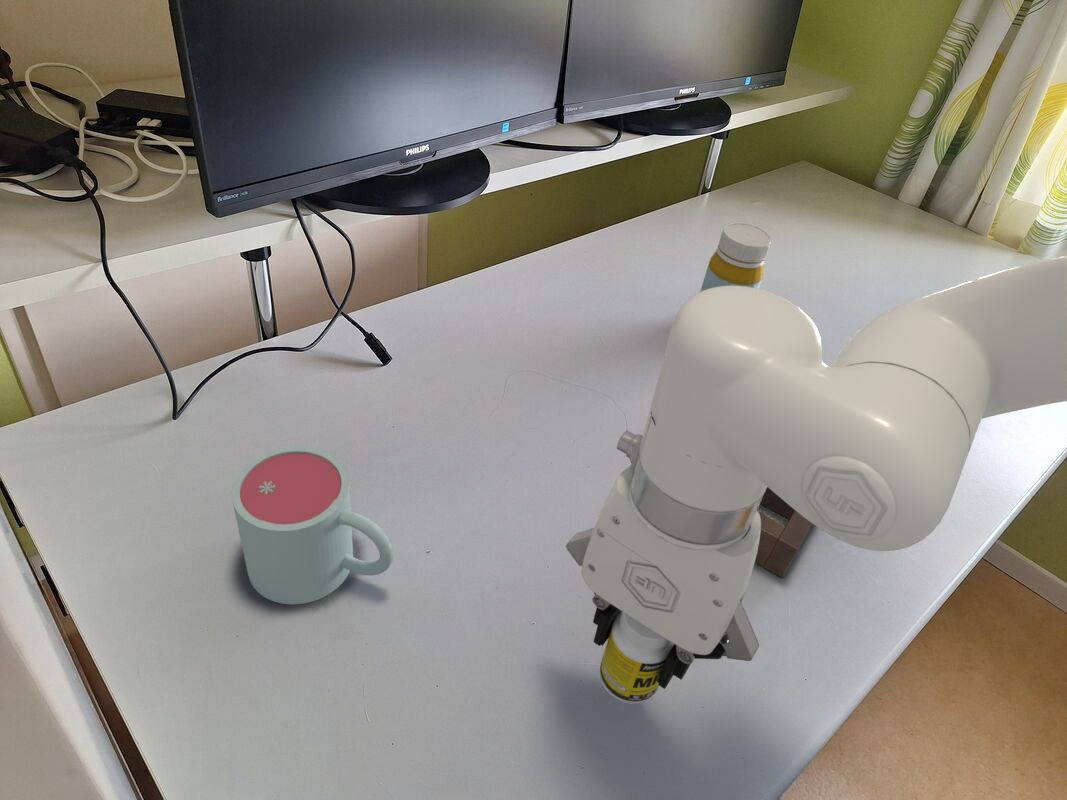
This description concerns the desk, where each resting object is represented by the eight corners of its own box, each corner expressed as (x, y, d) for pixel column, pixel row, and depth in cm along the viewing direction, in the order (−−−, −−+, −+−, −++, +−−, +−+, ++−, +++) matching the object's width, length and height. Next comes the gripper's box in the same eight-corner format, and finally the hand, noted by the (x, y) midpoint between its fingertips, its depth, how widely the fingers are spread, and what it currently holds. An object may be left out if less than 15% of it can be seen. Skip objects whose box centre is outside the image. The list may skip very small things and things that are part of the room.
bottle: (712, 310, 108) (743, 215, 98) (750, 336, 105) (786, 240, 95) (679, 325, 105) (708, 228, 95) (717, 352, 101) (752, 254, 91)
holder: (838, 478, 85) (853, 449, 82) (782, 578, 74) (798, 549, 71) (757, 437, 89) (770, 408, 86) (692, 526, 77) (704, 497, 75)
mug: (225, 582, 66) (206, 507, 60) (286, 508, 73) (275, 433, 67) (366, 638, 64) (363, 566, 57) (415, 556, 71) (417, 484, 64)
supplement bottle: (628, 717, 57) (650, 657, 51) (586, 670, 59) (603, 608, 54) (671, 682, 59) (697, 621, 54) (629, 639, 62) (650, 576, 56)
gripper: (543, 453, 46) (517, 623, 58) (810, 604, 39) (720, 761, 51) (606, 393, 51) (570, 561, 63) (853, 518, 44) (761, 680, 56)
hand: (638, 650), depth 57 cm, fingers closed on supplement bottle, 4 cm apart
